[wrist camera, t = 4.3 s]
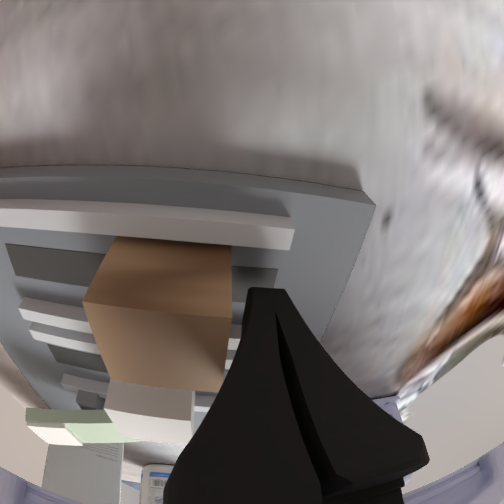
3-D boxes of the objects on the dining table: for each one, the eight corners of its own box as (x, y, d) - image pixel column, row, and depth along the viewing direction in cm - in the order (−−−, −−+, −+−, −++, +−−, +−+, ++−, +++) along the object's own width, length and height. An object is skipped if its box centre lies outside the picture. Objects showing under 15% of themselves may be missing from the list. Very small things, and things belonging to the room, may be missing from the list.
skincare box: (63, 426, 25) (46, 529, 13) (55, 409, 22) (33, 530, 10) (128, 446, 27) (119, 552, 15) (129, 433, 24) (119, 558, 12)
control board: (363, 191, 11) (397, 230, 8) (265, 427, 23) (267, 456, 21) (-50, 173, 8) (-85, 199, 6) (54, 400, 20) (47, 425, 18)
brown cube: (231, 241, 10) (232, 317, 7) (222, 320, 12) (221, 392, 9) (118, 231, 10) (81, 301, 7) (130, 311, 12) (111, 379, 9)
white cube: (194, 358, 14) (190, 421, 11) (195, 394, 16) (193, 446, 13) (118, 349, 13) (103, 408, 10) (131, 386, 16) (122, 436, 13)
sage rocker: (150, 406, 16) (153, 424, 15) (158, 428, 18) (161, 443, 17) (26, 407, 13) (25, 424, 12) (49, 430, 15) (49, 444, 14)
